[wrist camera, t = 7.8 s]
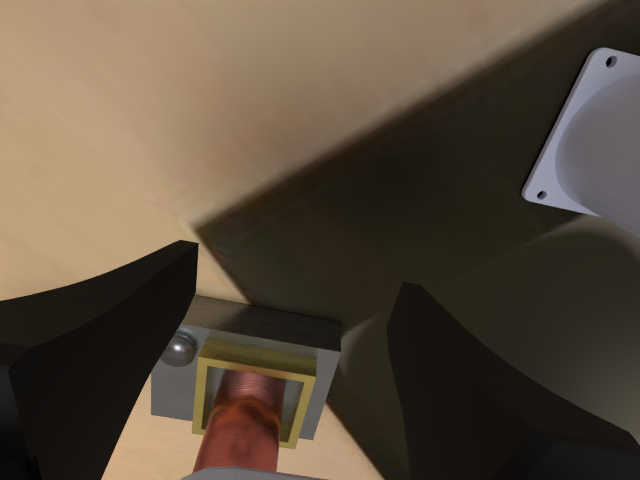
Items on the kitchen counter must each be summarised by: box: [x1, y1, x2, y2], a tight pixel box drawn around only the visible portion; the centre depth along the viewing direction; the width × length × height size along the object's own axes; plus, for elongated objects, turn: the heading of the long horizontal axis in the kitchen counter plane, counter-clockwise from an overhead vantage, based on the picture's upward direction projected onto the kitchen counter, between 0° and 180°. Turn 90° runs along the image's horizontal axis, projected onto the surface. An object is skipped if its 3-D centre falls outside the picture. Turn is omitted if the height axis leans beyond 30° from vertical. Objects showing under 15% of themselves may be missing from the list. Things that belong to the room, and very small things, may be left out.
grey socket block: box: [151, 295, 341, 449], centre depth 25 cm, size 14×9×4 cm, turn 78°
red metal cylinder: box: [193, 369, 285, 473], centre depth 21 cm, size 4×4×8 cm
